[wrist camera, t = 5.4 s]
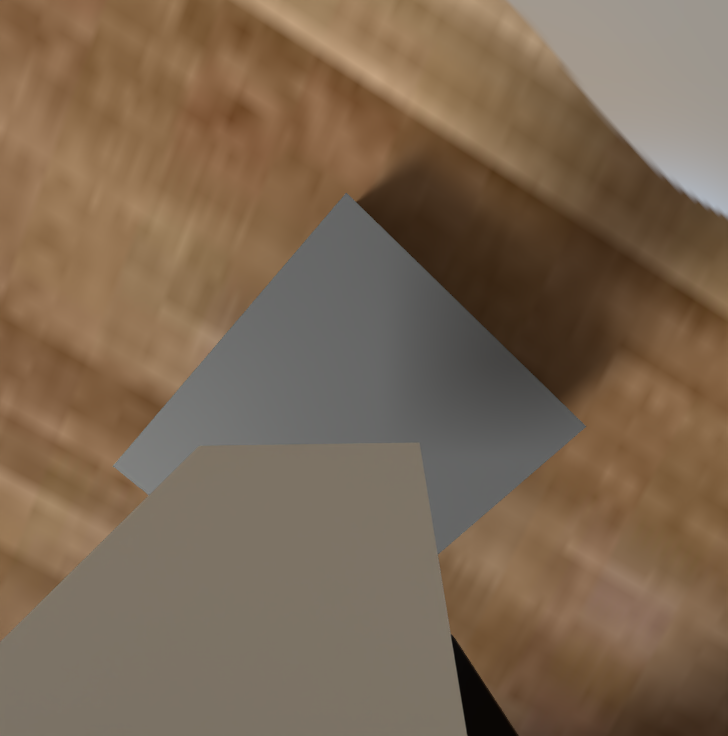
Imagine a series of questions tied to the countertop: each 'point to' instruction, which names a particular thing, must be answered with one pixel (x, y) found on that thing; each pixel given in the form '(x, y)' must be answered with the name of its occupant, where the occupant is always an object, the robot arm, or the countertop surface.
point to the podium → (365, 377)
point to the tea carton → (250, 607)
